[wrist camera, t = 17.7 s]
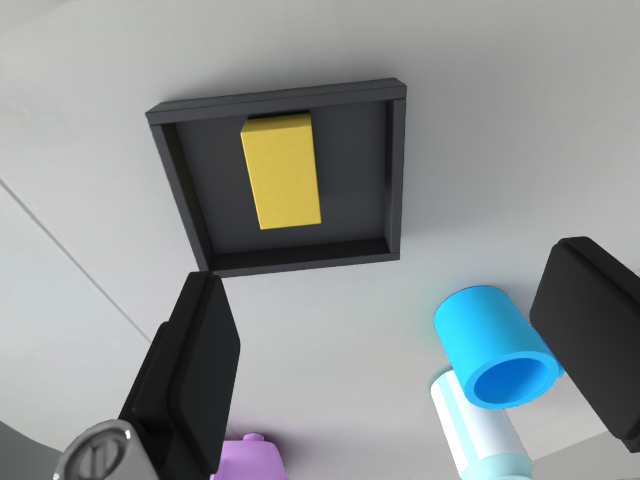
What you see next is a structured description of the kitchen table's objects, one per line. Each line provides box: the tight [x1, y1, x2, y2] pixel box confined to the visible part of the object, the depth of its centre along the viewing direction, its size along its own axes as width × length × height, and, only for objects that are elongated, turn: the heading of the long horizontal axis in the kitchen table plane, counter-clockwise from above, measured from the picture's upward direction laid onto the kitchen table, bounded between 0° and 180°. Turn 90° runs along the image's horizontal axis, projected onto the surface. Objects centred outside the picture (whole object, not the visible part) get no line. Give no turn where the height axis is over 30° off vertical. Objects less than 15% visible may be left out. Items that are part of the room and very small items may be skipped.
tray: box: [145, 78, 407, 278], centre depth 27 cm, size 14×17×3 cm
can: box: [431, 369, 533, 480], centre depth 39 cm, size 7×7×12 cm
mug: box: [434, 286, 565, 409], centre depth 34 cm, size 12×8×8 cm
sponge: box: [241, 111, 321, 229], centre depth 25 cm, size 7×4×4 cm, turn 5°
